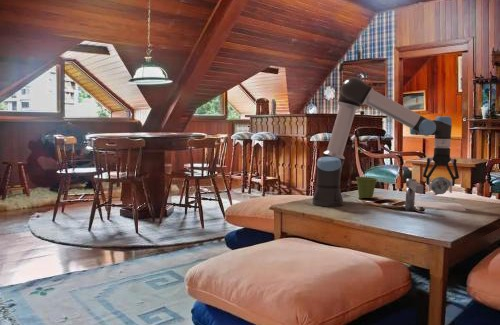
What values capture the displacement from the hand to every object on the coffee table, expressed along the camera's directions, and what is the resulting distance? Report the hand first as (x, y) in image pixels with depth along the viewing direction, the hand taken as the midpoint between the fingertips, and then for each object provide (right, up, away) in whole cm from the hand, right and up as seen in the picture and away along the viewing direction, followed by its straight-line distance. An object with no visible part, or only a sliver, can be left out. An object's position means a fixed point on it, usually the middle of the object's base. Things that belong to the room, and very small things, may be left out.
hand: (439, 191), depth 227 cm
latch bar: (-21, +2, -22) cm, 30 cm away
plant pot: (-32, -5, +21) cm, 39 cm away
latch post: (-19, -8, -11) cm, 24 cm away
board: (0, -7, +1) cm, 7 cm away
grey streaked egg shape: (0, -1, 0) cm, 1 cm away
